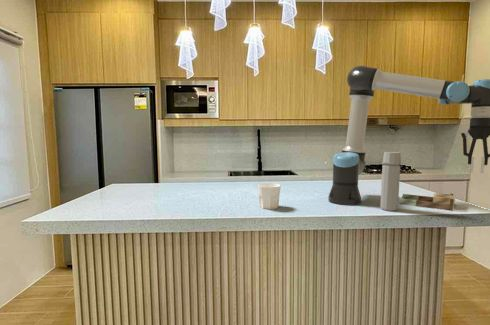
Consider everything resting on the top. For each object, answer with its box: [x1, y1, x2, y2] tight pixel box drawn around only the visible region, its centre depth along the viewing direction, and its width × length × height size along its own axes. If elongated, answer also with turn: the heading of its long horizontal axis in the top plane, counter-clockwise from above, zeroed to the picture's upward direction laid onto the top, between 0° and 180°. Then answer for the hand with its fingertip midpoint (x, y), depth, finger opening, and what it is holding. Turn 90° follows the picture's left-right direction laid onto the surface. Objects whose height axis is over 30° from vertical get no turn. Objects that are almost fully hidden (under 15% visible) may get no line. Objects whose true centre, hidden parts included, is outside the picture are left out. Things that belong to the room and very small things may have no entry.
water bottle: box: [379, 151, 402, 212], centre depth 132 cm, size 9×8×25 cm
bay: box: [398, 193, 454, 211], centre depth 142 cm, size 21×14×5 cm, turn 56°
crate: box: [432, 192, 456, 210], centre depth 138 cm, size 8×8×5 cm
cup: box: [257, 182, 281, 210], centre depth 136 cm, size 10×10×10 cm
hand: (476, 172), depth 131 cm, fingers open, 3 cm apart
